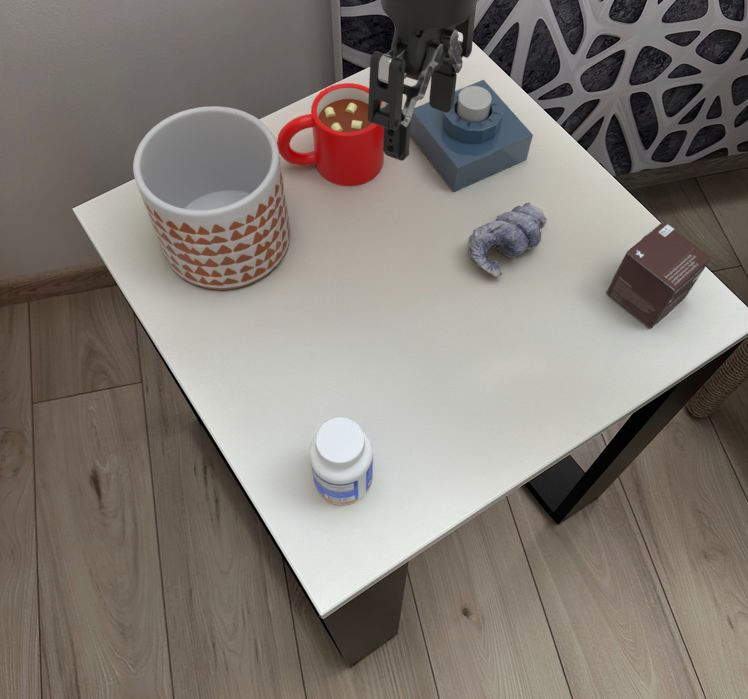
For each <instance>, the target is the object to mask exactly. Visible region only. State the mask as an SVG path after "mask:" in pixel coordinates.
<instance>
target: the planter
mask: <svg viewBox="0 0 748 699" xmlns="http://www.w3.org/2000/svg"><path fill="white" fill-rule="evenodd" d="M132 170H133V176H134V181H135V184H136V186H137V188H138V191H139V194H140V196H141V199H142V201H143V204H144V206H145V209H146V212H147V214H148V217H149V218H150V222H151V224H152V227H153V229H154V232H155V235H156V237H157V240H158V242H159V245H160V246H161V250H162V252H163V255H164V257H165V259H166V261H167V263H168V264H169V266H170V268H171V269H172V270H173V271H174V272H175V273H176V274H177V275H178V276H179V277H180V278H182V279H183V280H185V281H186V282H188V283H190V284H192V285H194V286H197V287H201V288H203V289H204V288H205V289H209V290H221V291H223V290H234V289H239V288H243V287H246V286H249V285H252V284H255V283H256V282H258V281H260V280H262V279H264V278H265V277H267V276H268V275H269V274H270V273H272V271H274V270H275V268H277V267H278V266H279V264H280V263H281V261H282V260H283V258H284V257H285V255H286V253H287V251H288V249H289V244H290V241H291V240H290V238H291V229H290V227H291V226H290V219H289V213H288V207H287V206H288V205H287V198H286V192H285V184H284V178H283V170H282V164H281V155H280V154H279V150H278V145H277V139H276V137H275V136H274V134H273V132H272V131H271V130H270V128H269V127H268V126H267V125H266V124H265V123H264V122H262V121H261V120H260V119H259V118H258V117H256V116H254V115H252V114H250V113H248V112H246V111H243V110H240V109H238V108H233V107H227V106H218V105H217V106H216V105H211V106H210V105H209V106H199V107H194V108H189V109H185V110H182V111H179V112H177V113H174V114H171V115H170V116H168V117H166V118H164V119H163V120H161V121H160V122H158V123H156V125H155V126H153V127H152V128H151V129H150V130H149V131H147V133H146V135H144V137H143V138H142V140H141V141H140V142H139V144H138V146H137V148H136V151H135V154H134V156H133V164H132Z"/></svg>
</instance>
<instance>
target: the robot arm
mask: <svg viewBox="0 0 748 699" xmlns="http://www.w3.org/2000/svg"><path fill="white" fill-rule="evenodd" d="M380 5H381V8H382V10H383V12H384V13H385V14H386V15H387V17H388V18H389V19H390V20H391V22H392V23H393V25H394V33H393V38H392V42H391V48H390V50H389V51H387V53H383V52H380V51H377V50H375V51H374V52H373V53H372V55H371V57H370V61H369V79H368V81H369V82H368V88H369V104H368V121H369V122H371V123H374V124H377V125H379V126H382V127H384V141H383V154H385V156H388V157H390V158H393V159H395V160H398V161H400V162H402V161H405V160H406V159H407V158H408V156H409V155H410V144H411V143H410V142H411V137H410V128H411V122H410V120H411V117H412V114H413V111H414V108H416V105H417V103H418V101H421V100H423V99H424V98H425V96H426V93H427V90H428V87H429V84H430V87H429V101H428V102H429V104H430V106H431V107H432V108H434V109H437V110H440V111H443V112H446V113H447V112H449V111H450V110H451V109H452V108H453V106H454V97H455V91H456V87H457V78H458V74H459V73H460V72H461V70H462V68H463V57H464V58H466V59H468V58H469V57H470V56H471V54H472V51H473V43H474V42H473V41H474V31H475V21H476V10H477V0H380ZM459 33H460V34H461V35H462V40H459V37H460V35H459ZM406 78H408V79H411V80H413V81H417V82H416V84H414V85H408V84H405V80H406ZM404 95H405V97H406V99H405V101H404V105H403V99H404ZM381 101H382V104H381ZM380 107H381V108H380Z"/></svg>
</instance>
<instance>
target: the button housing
mask: <svg viewBox="0 0 748 699" xmlns="http://www.w3.org/2000/svg"><path fill="white" fill-rule="evenodd" d="M469 86H479V87H482V88H484V89H486V90H487V91H488V92H489V93H490V95H491V98H492V100H491V106H490V111H489V115H488V117H487V118H486V119H485V120H484V121H482V122H479V123H469V122H467V121H465V120H462V119H461V118H460V117H459V116H458V114H457V104H458V97H459V93H460V92H461V91H462V90H463V89H464V88H466V87H469ZM410 122H411V128H410V139H411V140H412V141H413V142H414V144H416V146H417V147H418V149H419V150H420V151H421V153H423V155H424V156H425V158H426V159H427V160H428V161H429V162H430V164H431V165H432V166H433V168H434V169H435V170H436V171H437V172H438V174H439V175H440V176H441V178H442V179H443V180H444V181H445V183H446V184H447V185H448V187H449V188H450V189H451V190H452V192H453V193H456V192H458V191H460V190H462V189H464V188H467V187H469V186H471V185H473V184H476V183H478V182H480V181H483V180H485V179H486V178H489V177H492V176H494V175H496V174H498V173H500V172H502V171H504V170H507V169H509V168H511V167H513V166H515V165H517V164H520V163H522V162H524V161H527V159H528V157H529V156H528V155H529V152H530V148H531V143H532V140H533V136H534V134H533V133H532V132H531V130H529V128H528V127H527V126H526V125H525V124H524V123H523V122H522V121H521V119H520V118H519V117H517V115H516V114H515V113H514V112H513V110H511V108H510V107H509V106H508V105H507V104H506V103H505V102H504V100H503V99H502V98H501V97H500V96H499V95H498V93H497V92H496V91H495V90H494V89H493V88H492V87H491V86H490V85H489V83H488V82H487V81H486V80H485V79H481V80H479V81H476V82H474V83H472V84H469V85H467V86H464V87H462V88H460V89H457V90H455V97H454V106H453V108H452V109H451V110H450V111H449V112H447V113H446V112H443V111H440V110H437V109H434V108H432V107H431V106H430V104H429V101H427V102H426V103H423V104H420V105H418V106H415V108H414V111H413V114H412V117H411V120H410Z"/></svg>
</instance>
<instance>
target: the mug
mask: <svg viewBox="0 0 748 699" xmlns="http://www.w3.org/2000/svg"><path fill="white" fill-rule="evenodd" d="M368 104H369V86H366V85H362V84H359V83H353V82H343V83H337V84H334V85H331V86H327V87H326V88H325V89H323V90H321V91H320V92H319V93H318V94H317V95H316V97H315V98H314V99H313V101H312V103H311V108H310V113H307V114H303V115H299V116H296V117H295V118H293V119H291V120H290V121H288V122H287V123H285V125H284V126H283V127H282V128H281V129H280V131H279V133H278V135H277V138H276V142H277V145H278V150H279V156H280V157H281V158H282V159H283V160H284V161H285V162H287V163H289V164H291V165H294V166H300V167H301V166H303V167H304V166H305V167H306V166H313V165H315V167H316V169H317V171H318V173H319V174H320V175H321V177H323V178H324V179H325V180H326V181H328V182H330V183H332V184H334V185H338V186H342V187H343V186H344V187H353V186H354V187H355V186H360V185H364V184H366V183H368V182H370V181H372V180H374V178H376V177H377V176H378V174H379V173H380V172H381V170H382V168H383V165H384V151H383V141H384V127H382V126H379V125H377V124H374V123H371V122H369V121H368ZM381 104H382V101H381ZM380 108H381V107H380ZM309 128H310V129H311V128H312V138H313V151H310V152H300V151H299V152H298V151H296V150H294V149H293V148H292V147H291V142H292V139H293V138H294V136H295V135H296V134H298V133H299V132H301V131H303V130H305V129H309Z"/></svg>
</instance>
